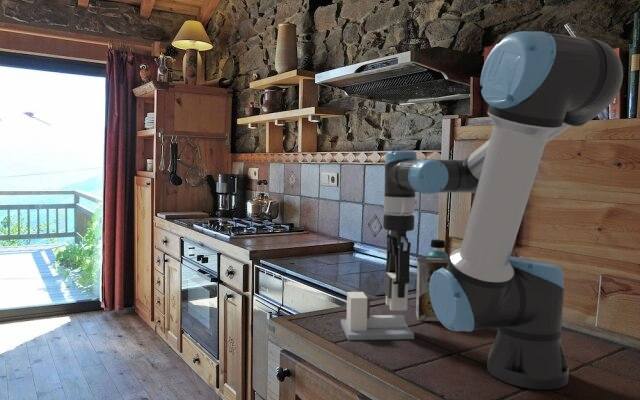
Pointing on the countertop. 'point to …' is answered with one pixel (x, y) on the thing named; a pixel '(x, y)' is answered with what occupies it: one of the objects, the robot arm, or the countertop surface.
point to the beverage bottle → (435, 252)
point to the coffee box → (426, 286)
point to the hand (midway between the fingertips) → (395, 305)
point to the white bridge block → (391, 290)
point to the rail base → (377, 333)
